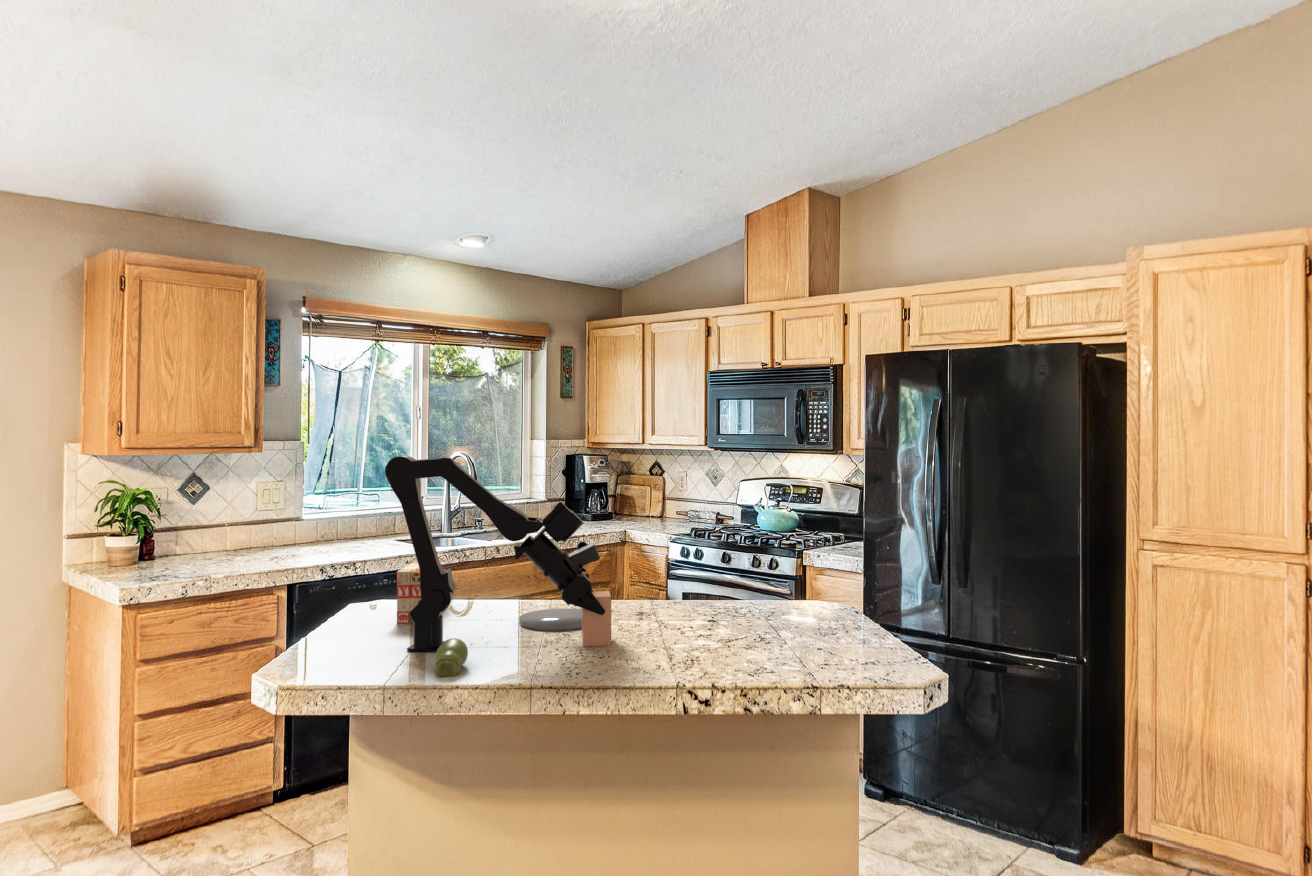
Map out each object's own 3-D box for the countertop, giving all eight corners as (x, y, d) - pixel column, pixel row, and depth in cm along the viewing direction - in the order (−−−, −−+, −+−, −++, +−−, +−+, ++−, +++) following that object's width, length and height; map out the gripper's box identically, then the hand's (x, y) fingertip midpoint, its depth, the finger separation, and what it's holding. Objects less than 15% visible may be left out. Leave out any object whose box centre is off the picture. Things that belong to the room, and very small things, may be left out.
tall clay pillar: (611, 645, 172) (611, 596, 172) (582, 646, 171) (582, 597, 171) (609, 638, 177) (608, 591, 177) (581, 639, 177) (581, 592, 177)
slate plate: (590, 631, 183) (590, 626, 183) (509, 630, 185) (509, 624, 185) (604, 614, 201) (604, 609, 201) (530, 612, 203) (530, 607, 203)
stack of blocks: (421, 605, 213) (421, 557, 213) (446, 605, 213) (446, 557, 213) (396, 624, 192) (396, 570, 192) (424, 624, 192) (423, 570, 192)
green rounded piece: (470, 634, 158) (460, 656, 149) (470, 660, 159) (461, 684, 149) (440, 634, 158) (429, 657, 148) (441, 660, 159) (429, 685, 149)
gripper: (578, 535, 164) (635, 590, 166) (575, 525, 183) (625, 575, 184) (538, 576, 163) (595, 631, 165) (538, 562, 182) (589, 612, 183)
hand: (602, 610), depth 174 cm, fingers closed on tall clay pillar, 6 cm apart
